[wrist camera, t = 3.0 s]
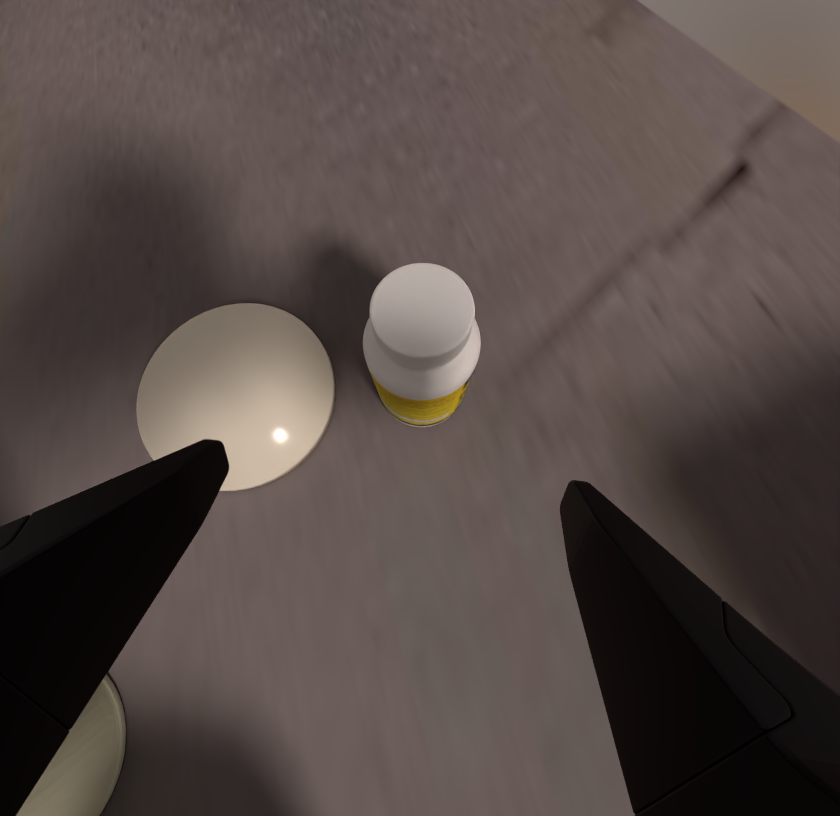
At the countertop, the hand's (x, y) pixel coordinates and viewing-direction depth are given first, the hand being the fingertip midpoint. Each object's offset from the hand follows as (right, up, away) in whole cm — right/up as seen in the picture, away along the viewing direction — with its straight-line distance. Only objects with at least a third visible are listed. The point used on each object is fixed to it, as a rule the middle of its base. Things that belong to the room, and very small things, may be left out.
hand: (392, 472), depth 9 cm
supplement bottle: (+1, +3, +14) cm, 14 cm away
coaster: (-11, +2, +13) cm, 17 cm away
